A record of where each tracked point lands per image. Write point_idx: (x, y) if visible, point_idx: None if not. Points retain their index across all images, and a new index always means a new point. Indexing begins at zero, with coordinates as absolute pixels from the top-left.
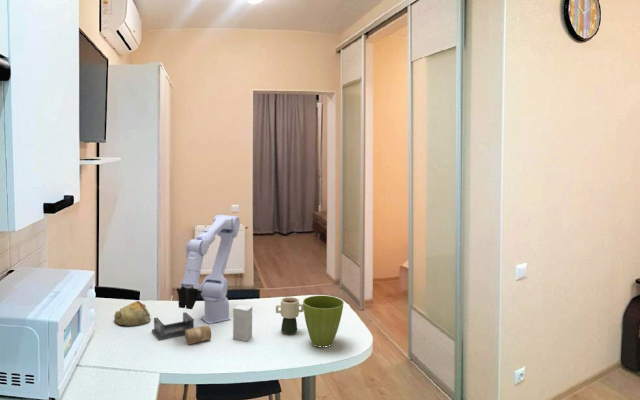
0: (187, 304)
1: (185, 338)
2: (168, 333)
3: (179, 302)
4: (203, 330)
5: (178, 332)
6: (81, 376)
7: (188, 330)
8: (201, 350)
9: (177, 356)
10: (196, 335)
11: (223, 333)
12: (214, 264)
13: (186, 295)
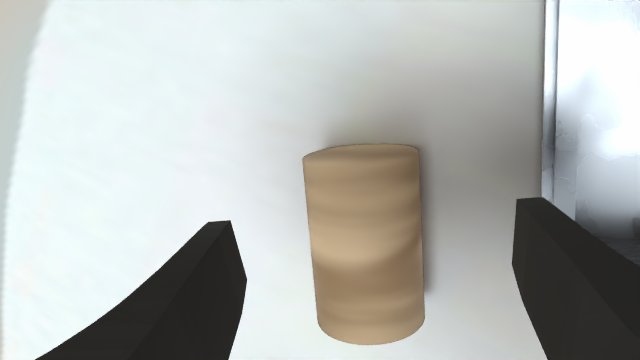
0: (177, 255)
1: (412, 147)
2: (557, 37)
3: (547, 236)
4: (318, 279)
5: (554, 132)
6: None
7: (331, 172)
8: (237, 184)
9: (212, 26)
10: (307, 210)
11: None
12: None
13: (146, 336)
